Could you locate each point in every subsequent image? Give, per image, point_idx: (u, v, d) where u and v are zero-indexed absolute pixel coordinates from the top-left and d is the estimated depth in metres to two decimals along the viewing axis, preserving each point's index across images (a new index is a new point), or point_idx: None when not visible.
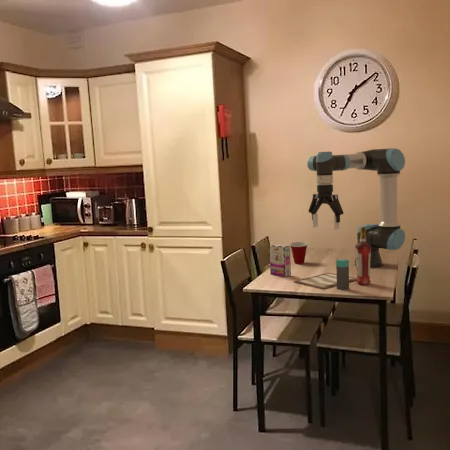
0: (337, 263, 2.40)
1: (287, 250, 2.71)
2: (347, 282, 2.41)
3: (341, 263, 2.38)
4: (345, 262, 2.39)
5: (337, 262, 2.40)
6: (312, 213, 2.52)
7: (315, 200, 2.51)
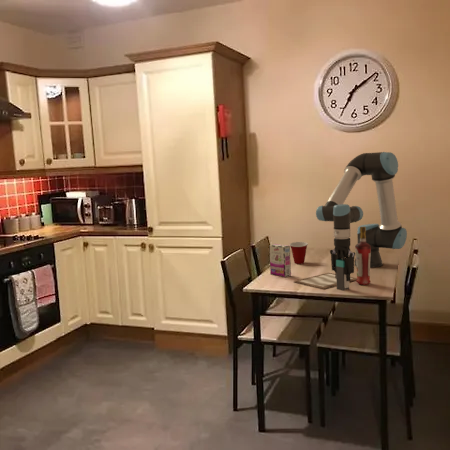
0: (337, 263, 2.40)
1: (287, 250, 2.71)
2: None
3: (341, 263, 2.38)
4: None
5: (337, 262, 2.40)
6: (336, 271, 2.43)
7: (334, 256, 2.44)
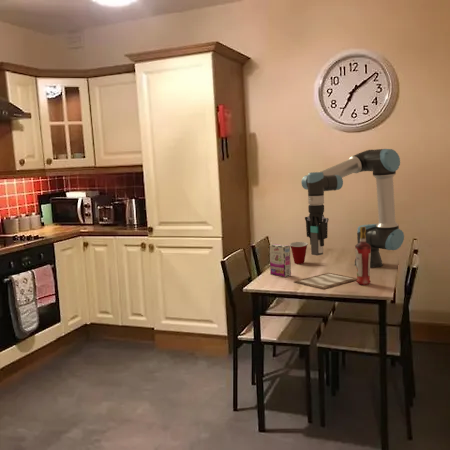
0: (311, 229, 2.48)
1: (287, 250, 2.71)
2: None
3: (315, 229, 2.46)
4: None
5: (311, 228, 2.48)
6: (310, 237, 2.51)
7: (309, 222, 2.52)
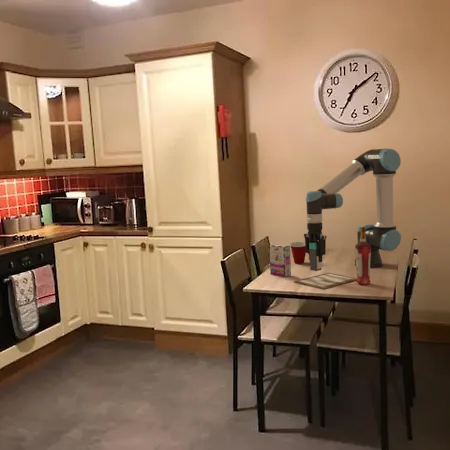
0: (310, 246, 2.59)
1: (287, 250, 2.71)
2: None
3: (314, 245, 2.57)
4: None
5: (310, 245, 2.59)
6: (309, 253, 2.61)
7: (308, 239, 2.62)
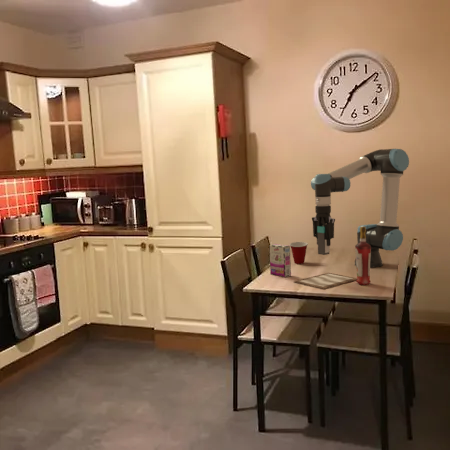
0: (318, 229, 2.55)
1: (287, 250, 2.71)
2: None
3: (322, 229, 2.53)
4: None
5: (318, 228, 2.55)
6: (317, 237, 2.57)
7: (316, 223, 2.59)
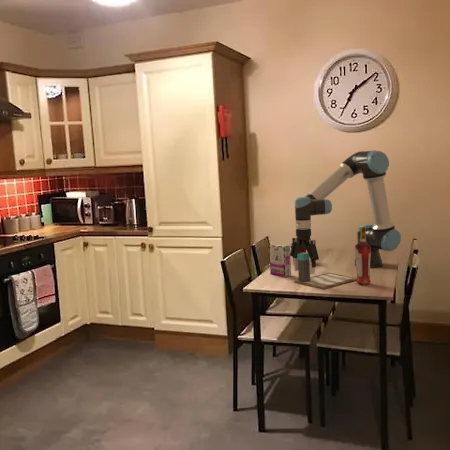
0: (298, 256, 2.56)
1: (287, 250, 2.71)
2: (308, 274, 2.57)
3: (302, 256, 2.54)
4: (305, 255, 2.55)
5: (298, 256, 2.56)
6: (294, 257, 2.61)
7: (295, 244, 2.60)
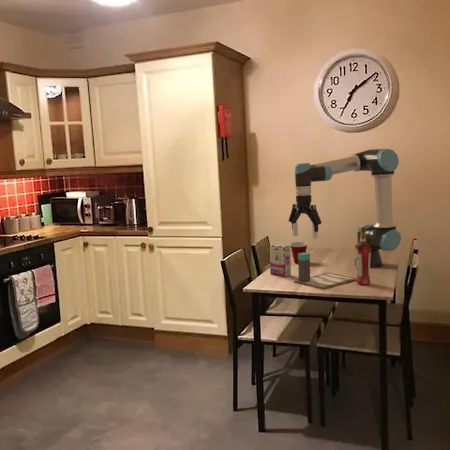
0: (299, 257, 2.56)
1: (287, 250, 2.71)
2: (308, 274, 2.57)
3: (302, 257, 2.54)
4: (306, 256, 2.54)
5: (299, 256, 2.56)
6: (292, 222, 2.60)
7: (295, 210, 2.59)
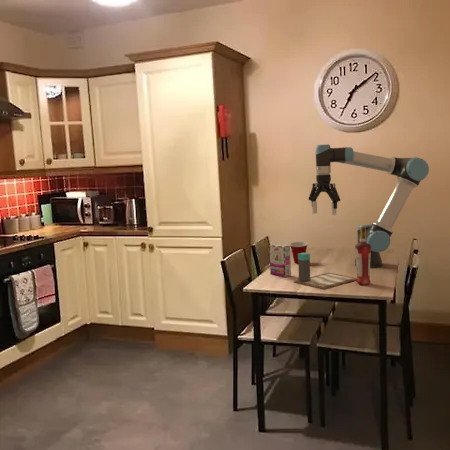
0: (299, 257, 2.56)
1: (287, 250, 2.71)
2: (308, 274, 2.57)
3: (302, 257, 2.54)
4: (306, 256, 2.54)
5: (299, 256, 2.56)
6: (312, 201, 2.77)
7: (314, 189, 2.76)
